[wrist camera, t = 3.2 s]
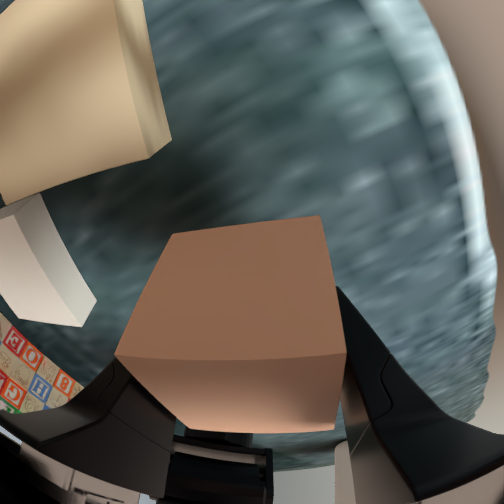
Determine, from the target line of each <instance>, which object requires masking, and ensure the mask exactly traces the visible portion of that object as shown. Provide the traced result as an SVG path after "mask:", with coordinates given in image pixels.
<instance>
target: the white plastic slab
mask: <svg viewBox="0 0 504 504" xmlns="http://www.w3.org/2000/svg"><path fill="white" fill-rule="evenodd" d="M0 294H1V295H2V297H3V298H4V299H5V301H6V302H7V303H8V305H9V306H10V308H11V309H12V310H13V312H14V313H15V314H16V315H17V317H18V318H20V319H26V320H32V321H39V322H45V323H52V324H60V325H68V326H76V327H82V326H83V324H84V323H85V321H86V319H87V317H88V315H89V313H90V312H91V310H92V308H93V306H94V305H95V303H96V301H97V300H96V299H95V297H94V296H93V294H92V293H91V291H90V289H89V288H88V286H87V284H86V283H85V281H84V279H83V278H82V276H81V274H80V273H79V271H78V269H77V267H76V266H75V264H74V262H73V260H72V258H71V257H70V255H69V253H68V251H67V249H66V247H65V245H64V243H63V242H62V240H61V238H60V236H59V234H58V232H57V230H56V228H55V225H54V223H53V221H52V219H51V217H50V215H49V213H48V210H47V208H46V206H45V204H44V201H43V199H42V197H41V194H40V193H37V194H35V195H32V196H30V197H27V198H25V199H22V200H20V201H17V202H15V203H12V204H10V205H8V206H5V207H3V208H1V209H0Z"/></svg>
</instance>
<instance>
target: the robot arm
mask: <svg viewBox="0 0 504 504" xmlns="http://www.w3.org/2000/svg"><path fill="white" fill-rule="evenodd" d="M335 287H336V292H337V297H338V303H339V308H340V314H341V320H342V326H343V332H344V338H345V345H346V351H347V354H346V361H345V368H344V375H343V382H342V388H341V394H340V401H341V406H342V412H343V417H344V423H345V429H346V435H347V442H348V448H349V455H350V462H351V469H352V476H353V484H354V492H355V501H356V504H504V435H502V434H496V433H492V432H490V431H487V430H484V429H481V428H478V427H476V426H473V425H471V424H468V423H465V422H463V421H460V420H458V419H455V418H453V417H451V416H449V415H448V414H446V413H445V412H444V411H443V410H441V409H440V408H439V407H438V405H437V404H436V403H435V402H434V401H433V400H432V399H431V398H430V397H429V396H428V395H427V394H426V393H425V392H424V391H423V390H422V389H421V388H420V387H419V386H418V385H417V384H416V382H415V381H414V380H413V379H412V378H411V377H410V376H409V375H408V374H407V373H406V371H405V370H404V369H403V368H402V366H401V365H400V364H399V363H398V361H397V360H396V359H395V357H394V356H393V355H392V354H390V351H389V350H388V348H387V347H386V346H385V344H384V343H383V342H382V341H381V339H380V338H379V337H378V335H377V334H376V333H375V332H374V330H373V329H372V328H371V326H370V325H369V324H368V323H367V321H366V320H365V319H364V318H363V316H362V315H361V314H360V313H359V311H358V310H357V309H356V308H355V306H354V305H353V304H352V303H351V301H350V300H349V299H348V298H347V297H346V295H345V294H344V293H343V292H342V290H341V289H340V288H339V287H338V286H335ZM175 423H176V416H175V415H173V414H172V413H171V412H170V411H169V410H168V409H167V408H166V407H165V406H164V405H162V404H161V403H160V402H159V401H158V400H157V399H156V398H155V397H154V396H153V395H152V394H151V393H150V392H149V391H148V390H147V389H146V388H145V387H144V386H143V385H142V384H141V383H140V382H139V381H138V380H137V379H136V378H135V377H134V376H133V375H132V374H131V373H130V372H129V371H128V370H127V369H126V367H125V366H124V365H123V364H122V363H121V362H120V361H119V360H118V359H117V357H115V358H114V359H113V361H111V362H110V364H109V365H108V366H107V367H106V368H105V369H104V370H103V371H102V372H101V373H100V374H99V375H98V376H97V377H95V378H94V379H93V380H92V381H91V382H90V383H89V384H88V385H87V386H86V387H84V388H83V389H82V390H81V391H80V392H79V393H78V394H76V395H75V396H74V397H73V398H72V399H71V400H70V401H68V402H67V403H65V404H64V405H62V406H59V407H56V408H51V409H45V410H39V411H33V412H26V413H18V414H15V413H9V412H8V411H6V410H4V409H1V410H0V426H2V427H3V428H5V429H6V430H7V431H8V432H10V433H11V434H13V435H14V436H15V437H17V438H18V439H20V440H21V441H22V444H21V445H20V444H18V443H17V442H15V441H14V440H12V439H10V438H9V437H7V436H6V435H4V434H3V433H1V432H0V504H138V503H139V498H140V493H143V494H147V495H149V497H150V499H152V500H155V501H156V504H273V496H274V486H273V456H272V449H271V448H265V449H259V448H252V439H253V433H237V432H220V431H207V430H197V429H190V428H189V427H187V426H186V427H185V432H184V437H182V436H178V435H174V428H175ZM174 451H179V452H175V454H174ZM181 452H183V453H181ZM186 453H188V454H186ZM191 454H193V455H191ZM196 455H198V456H196ZM201 456H203V457H201ZM207 457H209V458H207ZM213 458H215V459H213ZM219 459H221V460H219ZM226 460H228V461H226ZM233 461H236V462H233ZM241 462H245V463H241ZM251 463H254V464H251Z"/></svg>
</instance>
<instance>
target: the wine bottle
mask: <svg viewBox="0 0 504 504" xmlns="http://www.w3.org/2000/svg"><path fill="white" fill-rule="evenodd" d="M335 504H356V501H355V492H354V484H353V476H352V469H351V462H350V455H349V448H348V442H347V440H346V441H344V442H341V443H340V444H338V445H337V446H336V448H335Z"/></svg>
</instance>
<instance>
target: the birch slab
mask: <svg viewBox="0 0 504 504" xmlns="http://www.w3.org/2000/svg"><path fill="white" fill-rule="evenodd" d="M171 140H172V138H171V134H170V130H169V126H168V122H167V118H166V114H165V110H164V105H163V101H162V97H161V92H160V88H159V84H158V79H157V74H156V70H155V65H154V60H153V56H152V51H151V46H150V41H149V35H148V30H147V25H146V19H145V14H144V8H143V2H142V0H15V1H14V2H13V3H12V4H11V5H10V6H9V7H8V8H7V9H6V10H5V11H4V12H3V13H2V14H1V15H0V193H1V195H2V198H3V200H4V202H5V205H8V204H11V203H13V202H15V201H18V200H20V199H23V198H25V197H27V196H30V195H32V194H35V193H38V192H40V191H43V190H46V189H48V188H51V187H54V186H56V185H59V184H62V183H65V182H68V181H71V180H74V179H77V178H80V177H83V176H86V175H90V174H93V173H96V172H100V171H103V170H106V169H110V168H113V167H117V166H121V165H124V164H128V163H132V162H136V161H140V160H144V159H148V158H150V157H151V156H152V155H153V154H155V153H156V152H157V151H158V150H160V149H161V148H162V147H163V146H165V145H166V144H167V143H169V142H170V141H171Z"/></svg>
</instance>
